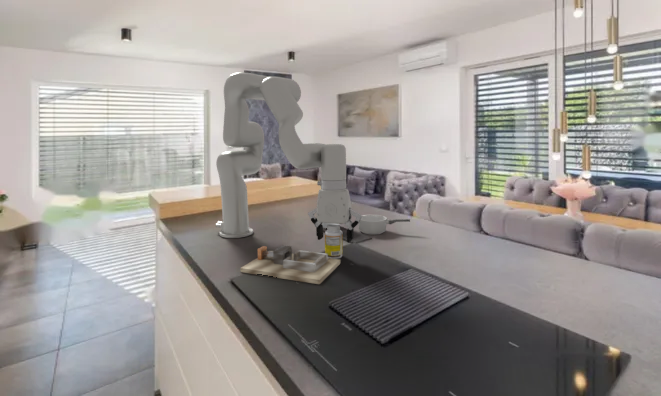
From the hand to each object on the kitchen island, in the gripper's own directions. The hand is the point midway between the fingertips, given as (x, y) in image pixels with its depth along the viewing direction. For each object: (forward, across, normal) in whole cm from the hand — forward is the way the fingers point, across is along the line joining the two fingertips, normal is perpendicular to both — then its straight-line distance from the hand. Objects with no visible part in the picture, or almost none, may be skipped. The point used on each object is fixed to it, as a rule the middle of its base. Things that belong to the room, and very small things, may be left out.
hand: (334, 239), depth 114 cm
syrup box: (+5, -15, +33) cm, 37 cm away
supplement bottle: (+6, -1, 0) cm, 6 cm away
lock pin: (+4, -16, -12) cm, 20 cm away
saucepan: (+6, +8, +33) cm, 35 cm away
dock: (+5, -9, -13) cm, 16 cm away
